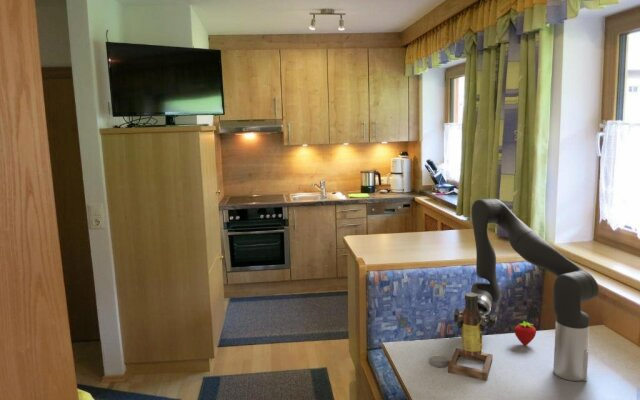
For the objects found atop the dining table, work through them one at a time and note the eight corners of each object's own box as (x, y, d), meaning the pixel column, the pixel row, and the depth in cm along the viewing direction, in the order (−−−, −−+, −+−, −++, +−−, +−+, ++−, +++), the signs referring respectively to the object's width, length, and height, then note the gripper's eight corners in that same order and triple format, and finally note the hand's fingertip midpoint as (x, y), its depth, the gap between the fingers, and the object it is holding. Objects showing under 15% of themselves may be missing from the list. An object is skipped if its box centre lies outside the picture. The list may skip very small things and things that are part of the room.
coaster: (452, 359, 160) (452, 357, 159) (447, 369, 153) (447, 367, 153) (431, 355, 163) (431, 353, 163) (426, 365, 157) (426, 363, 156)
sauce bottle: (484, 357, 150) (485, 298, 147) (465, 357, 150) (465, 298, 147) (478, 347, 156) (478, 290, 153) (459, 348, 157) (459, 291, 154)
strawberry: (510, 342, 170) (511, 316, 169) (530, 340, 171) (531, 314, 169) (518, 349, 165) (519, 323, 163) (539, 348, 165) (540, 321, 164)
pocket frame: (492, 361, 157) (492, 354, 157) (486, 380, 146) (487, 373, 146) (455, 354, 163) (456, 347, 162) (448, 372, 151) (448, 365, 151)
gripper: (457, 295, 167) (447, 312, 152) (500, 300, 160) (494, 318, 146) (457, 315, 168) (448, 334, 153) (500, 321, 162) (494, 341, 147)
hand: (470, 326), depth 150 cm, fingers closed on sauce bottle, 6 cm apart
